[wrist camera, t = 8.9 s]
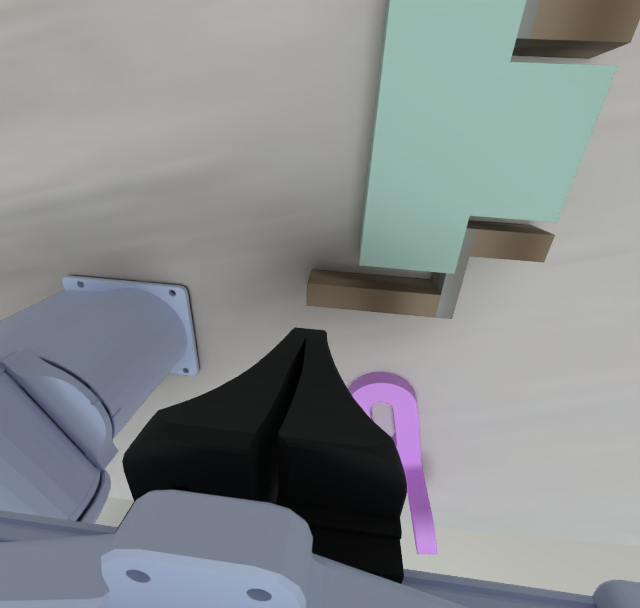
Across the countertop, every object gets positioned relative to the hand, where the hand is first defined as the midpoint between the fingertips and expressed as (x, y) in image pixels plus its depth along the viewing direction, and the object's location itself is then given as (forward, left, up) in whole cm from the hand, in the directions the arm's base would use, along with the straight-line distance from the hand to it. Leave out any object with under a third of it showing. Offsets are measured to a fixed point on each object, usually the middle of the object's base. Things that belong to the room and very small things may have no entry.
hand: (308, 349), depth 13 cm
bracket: (+6, -14, -10) cm, 19 cm away
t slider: (+6, +8, -9) cm, 14 cm away
